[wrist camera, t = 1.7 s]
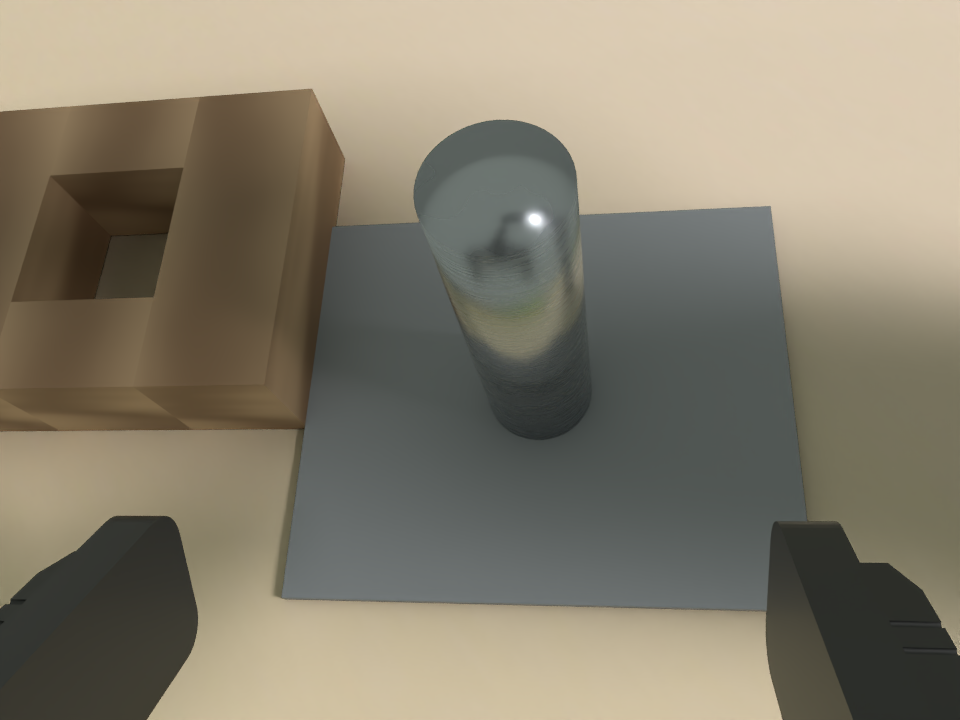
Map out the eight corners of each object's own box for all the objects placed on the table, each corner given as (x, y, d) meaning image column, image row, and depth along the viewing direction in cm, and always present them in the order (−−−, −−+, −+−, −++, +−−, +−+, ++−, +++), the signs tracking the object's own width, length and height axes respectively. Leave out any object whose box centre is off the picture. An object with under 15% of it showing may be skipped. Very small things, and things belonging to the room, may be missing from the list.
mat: (768, 211, 26) (770, 206, 26) (814, 612, 21) (817, 610, 21) (335, 231, 28) (332, 226, 28) (285, 599, 23) (281, 597, 23)
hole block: (344, 158, 29) (311, 88, 26) (308, 428, 25) (264, 384, 22) (35, 177, 31) (-31, 113, 28) (-46, 431, 27) (-134, 391, 24)
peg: (591, 343, 25) (576, 114, 16) (592, 439, 23) (577, 253, 14) (490, 345, 25) (419, 125, 16) (486, 440, 24) (407, 259, 15)
